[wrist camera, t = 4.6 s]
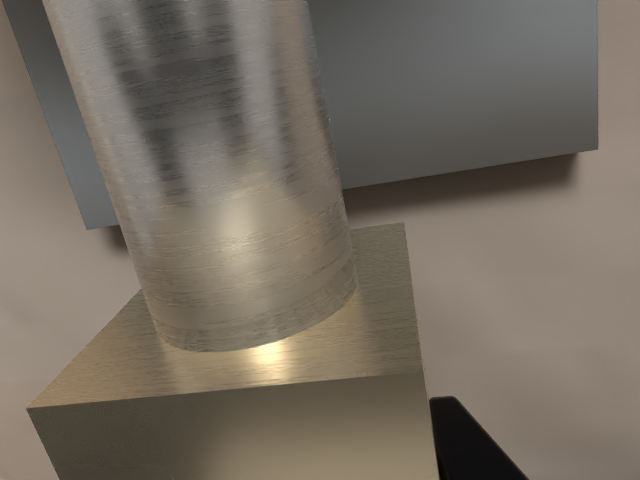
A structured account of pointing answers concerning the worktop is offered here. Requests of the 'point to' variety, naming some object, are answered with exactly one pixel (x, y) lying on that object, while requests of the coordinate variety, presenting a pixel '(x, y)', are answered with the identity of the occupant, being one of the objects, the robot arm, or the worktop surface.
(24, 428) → the worktop surface
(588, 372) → the worktop surface
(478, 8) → the bearing block
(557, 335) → the worktop surface
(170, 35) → the shaft
